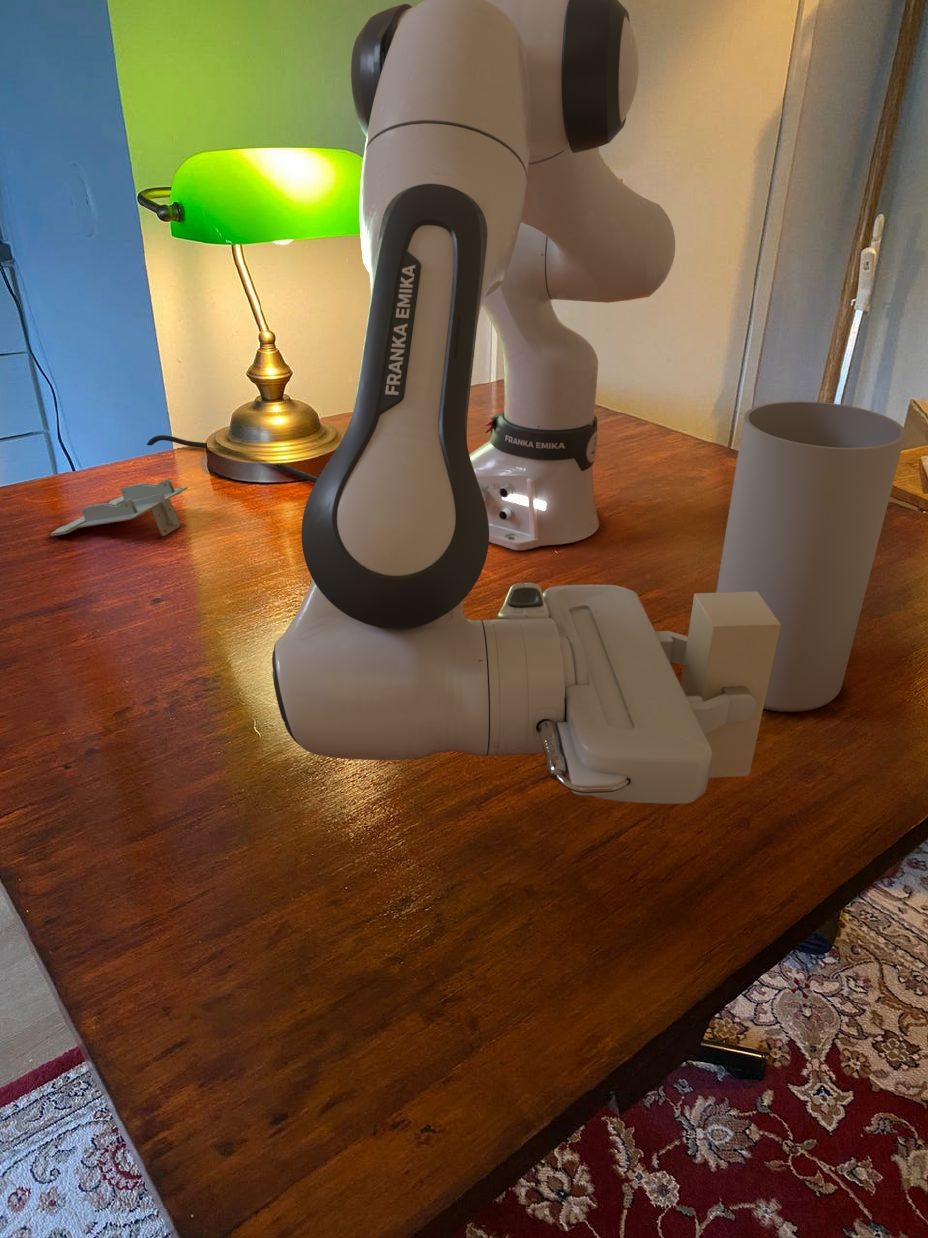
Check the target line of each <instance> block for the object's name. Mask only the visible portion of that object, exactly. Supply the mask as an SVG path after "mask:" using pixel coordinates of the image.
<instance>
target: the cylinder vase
mask: <svg viewBox="0 0 928 1238" xmlns="http://www.w3.org/2000/svg"><path fill="white" fill-rule="evenodd" d="M905 437H906V430H905V428H904V427H903V425H901V424H900V423H899V422H897V421H896V420H894V419H892V418H890V417H888V416H886V415H883V414H881V413H878V412H876V411H872V410H868V409H864V408H861V407H856V406H851V405H846V404H839V403H832V402H824V401H822V402H821V401H806V400H803V401H801V400H794V401H793V400H791V401H790V400H789V401H777V402H769V403H764V404H760V405H757V406H754V407H752V408H750V409H749V410H747V411H746V412H745V413H744V416H743V421H742V427H741V433H740V439H739V446H738V447H739V448H738V452H737V459H736V465H735V471H734V476H733V483H732V484H733V485H732V490H731V496H730V503H729V509H728V516H727V522H726V526H725V527H726V529H725V535H724V541H723V547H722V552H721V553H722V554H721V560H720V566H719V571H718V580H717V586H716V589H715V590H716V591H715V593H726V592H758V593H759V595H760V596H761V597H762V599H763V600H764V602H765V603H766V604H767V606H768V607H769V609H770V610H771V611H772V613H773V614H774V615H775V617H776V618H777V620H778V621H779V622H780V624H781V626H780V631H779V635H778V640H777V645H776V650H775V655H774V659H773V664H772V669H771V674H770V678H769V683H768V688H767V693H766V698H765V702H764V707H763V710H768V711H773V712H774V711H775V712H783V713H796V712H797V713H799V712H806V711H812V710H815V709H818V708H822V707H824V706H826V705H827V704H830V702H832V701H833V700H834V699H836V697H837V696H838V695H839V693H840V692H841V690H842V687H843V683H844V679H845V675H846V671H847V667H848V663H849V659H850V655H851V651H852V647H853V643H854V640H855V637H856V632H857V629H858V625H859V620H860V616H861V611H862V609H863V605H864V600H865V596H866V591H867V589H868V584H869V580H870V575H871V574H872V573H871V572H872V568H873V564H874V561H875V557H876V551H877V549H878V544H879V542H880V541H879V540H880V537H881V534H882V533H881V532H882V529H883V524H884V521H885V517H886V513H887V509H888V505H889V502H890V497H891V493H892V490H893V486H894V481H895V477H896V473H897V470H898V466H899V462H900V458H901V454H902V451H903V446H904V442H905Z"/></svg>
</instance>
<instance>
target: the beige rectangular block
mask: <svg viewBox="0 0 928 1238" xmlns="http://www.w3.org/2000/svg"><path fill="white" fill-rule="evenodd" d="M692 600H693V602H692V606H691V614H690V620H689V627H688V633H687V637H688V639H687V646H686V652H685V659H684V665H682V674H681V679H680V685H681V687H682V689H683V691H684V693H685V695H686V696H700V697H702V699H703V702H705V701H707V700H710V699H712V698H715V697H718V696H720V695H721V692H722V687H731V686H734V687H738V686H745V687H747V688H748V689H749V691H750V693H751V694H752V696H753V698H754V699H755V701H756V707H755V712H754V717H753V718H752V719H751V720H749V721H746V722H726V723H725V724H724V725H722V726H720V727H719V728H717V729H715V730H713V731H712V732H710V733H708V734H706V735H705V737H706V739H707V741H708V743H709V745H710V747H711V750H712V762H711V769H710V775H709V779H710V778H711V779H712V778H734V777H738V778H739V777H749V776H750V774H751V769H752V764H753V760H754V755H755V749H756V745H757V740H758V736H759V731H760V726H761V720H762V716H763V712H764V709H763V707H764V702H765V698H766V693H767V688H768V683H769V678H770V674H771V669H772V664H773V659H774V655H775V650H776V645H777V640H778V635H779V631H780V626H781V624H780V622H779V621H778V620H777V618H776V617H775V615H774V614H773V613H772V611H771V610H770V609H769V607H768V606H767V604H766V603H765V602H764V600H763V599H762V597H761V596H760V595H759V593H758V592H726V593H716V592H699V593H698V592H697V593H693V599H692Z"/></svg>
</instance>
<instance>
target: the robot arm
mask: <svg viewBox="0 0 928 1238" xmlns="http://www.w3.org/2000/svg"><path fill="white" fill-rule="evenodd" d="M351 53H352V54H351V61H350V63H351V64H350V78H351V79H350V81H351V82H350V83H351V92H352V93H351V94H352V99H353V105H354V109H355V115H356V117H357V120H358V124H359V126H360V129H361V131H362V133H363V134H364V135H365V137H366V139H365V140H366V141H365V147H364V153H363V160H362V167H361V175H360V176H361V178H360V192H359V193H360V194H359V230H360V231H359V232H360V245H361V252H362V253H361V254H362V262H363V265H364V267H365V269H366V270H367V272H368V273H369V279H370V298H369V305H368V306H369V307H368V312H367V313H368V314H367V319H366V327H365V332H364V333H365V334H364V340H363V345H362V346H363V347H362V353H361V361H360V367H359V374H358V381H357V382H358V383H357V385H356V387H357V388H356V393H355V400H354V404H353V405H354V406H353V410H352V416H351V419H350V421H349V423H348V426H347V429H346V431H345V433H344V435H343V437H342V439H341V440H340V442H339V444H338V446H337V447H336V449H335V451H333V454H332V455H331V457H330V458H329V460H328V462H327V463H326V465H325V466H324V467H323V469H322V471H321V472H320V474H319V476H318V477H317V476H315V475H312V474H309V473H306V472H304V471H301V470H299V469H296V468H294V467H292V466H289V467H291V468H289V467H287V466H288V465H287V466H285V465H286V464H285V465H283V464H284V463H283V464H280V465H278V464H277V465H273V466H275V467H277V468H279V469H281V470H283V471H284V472H287V473H289V474H291V475H293V476H296V477H299V478H301V479H304V480H307V481H309V482H312V483H314V485H313V486H312V489H311V491H310V493H309V495H308V498H307V499H306V503H305V507H304V511H303V515H302V520H301V531H300V533H301V534H300V535H301V536H300V537H301V548H302V554H303V557H304V561H305V565H306V567H307V570H308V572H309V575H310V577H311V578H312V581H311V583H310V585H309V587H308V589H307V592H306V594H305V596H304V598H303V600H302V603H301V604H300V606H299V609H298V610H297V612H296V614H295V616H294V617H293V619H292V621H291V622H290V624H289V625H288V627H287V629H286V630H285V631H284V633H283V634H282V635H281V636H280V637H279V638H278V639H277V640H276V641H275V643H274V645H273V650H272V655H271V656H272V657H271V665H272V681H273V687H274V693H275V698H276V702H277V705H278V710H279V713H280V716H281V717H280V718H282V722H284V727H285V729H286V732H287V733H288V735H289V736H290V737H291V738H292V740H293V741H294V742H295V743H296V744H297V745H298V746H300V747H301V748H302V749H303V750H305V751H307V752H308V753H311V754H313V755H315V756H320V757H325V758H332V759H341V760H355V761H357V760H359V761H402V760H405V761H406V760H407V761H408V760H419V759H423V758H427V757H429V756H432V755H436V754H441V753H446V752H447V753H448V752H457V753H464V754H467V755H472V756H477V757H499V756H501V757H502V756H503V757H504V756H522V755H523V756H526V755H544V756H545V766H546V771H547V773H548V775H549V777H550V778H551V779H552V780H553V781H556V782H559V784H560V785H562V787H564V788H566V789H568V790H570V791H571V792H572V794H574V795H578V796H591V797H594V798H596V799H601V800H605V801H613V802H621V803H635V804H652V805H653V804H654V805H686V804H691V803H693V802H695V801H696V800H697V799H699V798H701V797H702V796H704V794H705V793H706V791H707V788H708V785H709V784H708V783H709V780H710V778H709V775H710V769H711V762H712V750H711V747H710V745H709V743H708V741H707V739H706V737H705V735H706V734H708V733H710V732H712V731H713V730H715V729H717V728H719V727H720V726H722V725H724V724H725V723H726V722H746V721H749V720H751V719H752V718H753V717H754V712H755V707H756V701H755V699H754V698H753V696H752V694H751V693H750V691H749V689H748V688H747V687H745V686H738V687H734V686H731V687H722V692H721V695H720V696H718V697H715V698H712V699H710V700H707V701H705V702H703V699H702V697H700V696H686V695H685V693H684V691H683V689H682V687H681V682H680V680H679V678H678V676H677V674H676V672H675V670H674V669H673V666H672V664H677V665H682V666H684V659H685V652H686V646H687V639H688V635H685V634H680V633H677V632H674V631H670V630H655V628H654V626H653V624H652V622H651V620H650V618H649V616H648V614H647V612H646V609H645V608H644V605H643V603H642V602H641V599H640V597H639V594H638V593H637V592H636V591H634V590H632V589H629V588H626V587H624V586H620V585H616V584H614V585H613V584H562V585H555V586H551V587H549V588H546V589H545V590H544V591H543V590H542V588H541V586H540V585H539V584H537V583H534V582H518V583H514V584H512V585H511V586H510V588H509V589H508V592H507V593H506V596H505V599H504V602H503V603H502V606H501V608H500V610H499V611H498V613H497V616H496V618H495V619H493V618H492V619H470V618H468V617H466V615H465V614H464V605H463V604H464V603H463V601H464V600H465V598H466V597H467V596H468V595H470V593H471V591H472V590H473V588H474V587H475V585H476V584H477V582H478V581H479V578H480V576H481V574H482V572H483V569H484V567H485V564H486V561H487V560H486V559H487V557H488V551H489V545H490V544H491V543H492V544H494V545H497V546H501V547H504V548H507V549H510V550H514V551H527V550H531V549H534V548H539V547H544V546H556V545H565V544H566V545H567V544H572V543H575V542H580V541H582V540H585V539H587V538H588V537H590V536H592V535H593V534H595V533H596V532H597V531H598V529H599V528H600V520H599V519H600V518H599V515H598V511H597V506H596V499H595V491H594V489H595V488H594V474H593V473H594V472H593V471H594V470H593V469H594V468H593V465H594V464H595V459H596V456H597V449H598V417H597V416H596V414H595V413H596V400H597V390H598V389H597V388H598V375H599V374H598V372H599V359H598V355H597V352H596V351H595V349H594V347H593V346H592V344H591V343H590V341H588V340H587V339H586V338H585V337H584V336H583V335H582V334H579V333H578V332H576V331H575V330H573V329H572V328H569V327H568V326H566V325H565V324H564V323H563V322H562V321H561V320H560V318H559V317H558V316H557V314H556V312H555V310H554V307H553V303H552V301H553V300H558V301H573V302H589V303H607V304H609V303H618V302H626V301H632V300H640V299H645V298H650V297H651V296H652V295H654V294H655V293H656V292H657V291H658V290H659V289H660V288H661V286H662V285H663V284H664V283H665V280H666V279H668V275H669V274H670V271H671V269H672V267H673V264H674V259H675V256H676V255H675V254H676V235H675V231H674V226H673V224H672V221H671V219H670V217H669V215H668V213H667V212H666V211H665V209H664V208H663V207H662V206H661V205H660V204H659V203H657V202H654V201H652V200H649V199H648V198H646V197H644V196H642V195H640V194H639V193H637V192H636V191H634V190H632V188H630V187H629V186H628V185H627V184H626V183H624V182H623V181H622V180H621V179H620V178H619V177H618V176H617V175H616V173H614V171H612V169H611V168H610V167H609V165H608V164H607V162H606V161H605V160H604V157H603V155H602V154H601V150H600V147H602V146H605V145H608V144H610V143H611V142H612V141H613V139H614V138H615V137H616V136H617V135H618V134H619V133H620V132H621V131H622V130H623V128H624V127H625V125H626V120H627V115H628V113H629V111H630V110H631V107H632V105H633V102H634V99H635V95H636V91H637V87H638V80H639V72H640V60H639V50H638V45H637V40H636V36H635V33H634V29H633V27H632V25H631V22H630V14H629V12H628V10H627V9H626V7H625V6H624V5H623V4H622V3H621V2H620V0H421V2H419V3H418V4H416V5H415V6H412V5H411V4H409V3H403V4H398V5H396V6H392V7H390V8H386V9H384V10H382V11H380V12H377V13H376V14H374V15H372V16H371V17H370V18H369V19H367V21H366V23H365V25H364V26H363V27H362V29H361V30H360V32H359V33H358V35H357V36H356V39H355V40H354V45H353V48H352V52H351ZM481 309H483V310H484V312H485V313H486V315H487V316H488V318H489V320H490V323H491V324H492V327H493V329H494V330H495V333H496V336H497V338H498V342H499V345H500V351H501V355H502V356H501V357H502V369H503V391H504V392H503V393H504V395H503V397H504V398H503V401H504V402H503V406H501V407H500V408H499V410H498V413H497V414H494V415H493V416H492V417H490V420H489V421H488V422H486V423H485V424H484V427H486V428H485V430H484V433H485V434H488V433H489V432H490V439H489V440H488V441H487V442H485V443H483V444H482V445H480V446H479V447H477V448H476V449H475V450H473V451H472V452H471V453H470V452H469V447H468V435H467V434H468V416H469V405H470V395H471V387H472V379H473V370H474V369H473V368H474V359H475V349H476V341H477V331H478V324H479V318H480V313H481ZM160 441H167V442H172V443H175V444H179V445H182V446H186V447H192V448H193V447H194V448H202V449H208V448H207V443H208V442H201V441H192V440H186V439H183V438H180V437H176V436H172V435H166V434H160V435H159V434H158V435H156V436H154V437H152V438H150V439H149V440H148V442H147V443H146V446H153V445H154V444H156V443H158V442H160ZM292 468H293V469H292ZM566 777H567V778H566Z"/></svg>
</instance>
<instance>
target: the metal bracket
mask: <svg viewBox="0 0 928 1238" xmlns="http://www.w3.org/2000/svg"><path fill="white" fill-rule="evenodd" d="M186 490H188V486H182V487H177V488H175V487H174V484H173V482H172V481H171V480H170V479H169V478H166V479H163V480H162V481H160V482H159V483H158V484H155V483H149V482H148V483H146V482H142V483H135V484H131V485H126V486H123V487H121V488H120V493H121V496H119V497H117V498H114V499H112V500H109V502H103V503H96V504H91V505H86V506H85V507H83V508H81V514H82V516H81V517H79V518H77V519H75V520H73V521H70V522H69V523H68V524H65V525H62V526H59V527H58V528H56V529H54V531H52V532H50V536H51V537H55V536H62V535H66V534H70V533H71V532H73V531H75V530H77V529H81V528H84V527H85V528H86V527H92V526H98V525H104V524H111V523H118V522H124V521H129V520H134V519H136V518H137V517H139V516H141V515H142V514H145V513H146V512H148V511H150V512H151V515H152V517H153V520H154V522H155V525H156V526H157V529H158V531H159V533H160V536H161V537H165V536H166V535H168V534H170V533H172V532H173V531H175V530H176V529H178V528H180V527H181V523H180V520H179V518H178V516H177V513H176V510H175V508H174V505H173V503H172V500H171V498H173V497H175V496H177V495H178V494H180V493H182V492H184V491H186Z"/></svg>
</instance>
